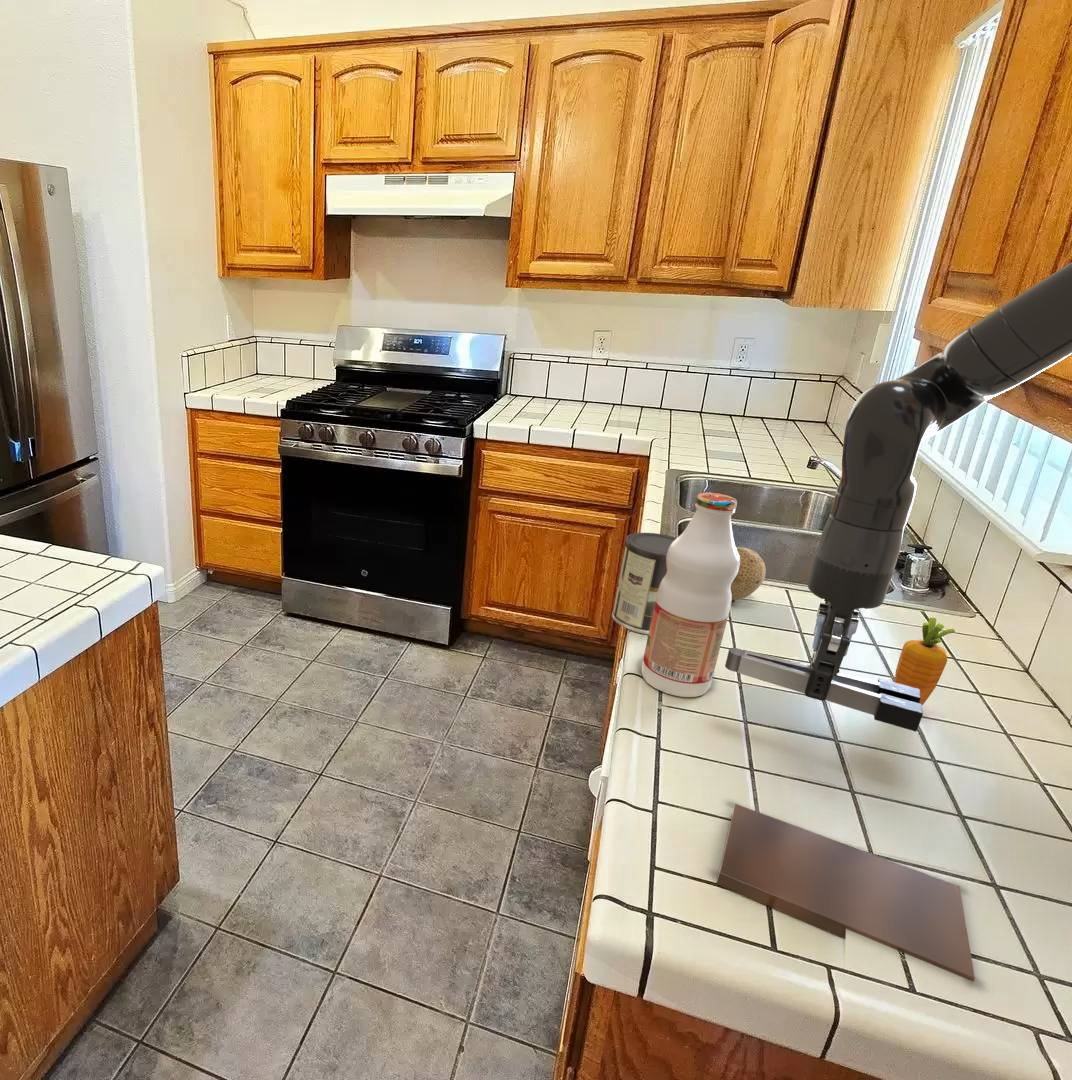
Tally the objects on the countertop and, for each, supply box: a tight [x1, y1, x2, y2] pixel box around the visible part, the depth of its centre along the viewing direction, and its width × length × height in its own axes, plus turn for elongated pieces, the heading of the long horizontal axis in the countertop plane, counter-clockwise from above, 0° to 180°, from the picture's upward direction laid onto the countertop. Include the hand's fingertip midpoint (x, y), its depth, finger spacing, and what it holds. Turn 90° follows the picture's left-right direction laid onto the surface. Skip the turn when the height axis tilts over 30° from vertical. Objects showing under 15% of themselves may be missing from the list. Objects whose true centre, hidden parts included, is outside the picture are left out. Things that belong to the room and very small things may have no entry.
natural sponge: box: [730, 546, 767, 601], centre depth 135 cm, size 9×9×10 cm
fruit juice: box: [641, 491, 740, 698], centre depth 104 cm, size 9×9×28 cm
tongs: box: [724, 647, 924, 732], centre depth 91 cm, size 20×6×2 cm, turn 58°
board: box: [715, 803, 976, 982], centre depth 73 cm, size 20×12×2 cm, turn 58°
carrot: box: [893, 617, 956, 706], centre depth 100 cm, size 5×5×15 cm
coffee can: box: [611, 532, 677, 635], centre depth 124 cm, size 10×10×14 cm
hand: (815, 689), depth 91 cm, fingers closed on tongs, 3 cm apart
